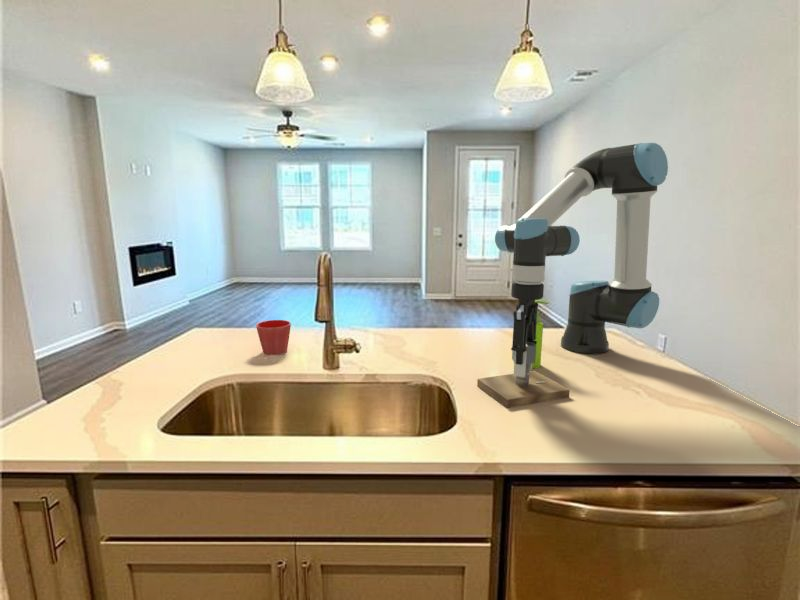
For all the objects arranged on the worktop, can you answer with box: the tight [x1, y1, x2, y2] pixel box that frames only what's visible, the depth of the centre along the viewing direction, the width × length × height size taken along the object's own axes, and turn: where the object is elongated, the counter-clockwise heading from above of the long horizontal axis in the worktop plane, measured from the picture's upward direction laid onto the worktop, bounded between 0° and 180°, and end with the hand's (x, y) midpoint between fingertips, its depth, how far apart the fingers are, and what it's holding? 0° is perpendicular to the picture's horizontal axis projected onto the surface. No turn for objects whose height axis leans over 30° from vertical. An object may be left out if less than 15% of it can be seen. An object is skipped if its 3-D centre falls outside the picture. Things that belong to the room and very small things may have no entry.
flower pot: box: [256, 319, 292, 356], centre depth 141 cm, size 11×11×10 cm
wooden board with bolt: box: [476, 364, 571, 408], centre depth 108 cm, size 18×14×8 cm
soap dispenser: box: [532, 299, 549, 369], centre depth 127 cm, size 6×7×20 cm
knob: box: [511, 341, 536, 364], centre depth 107 cm, size 6×5×5 cm
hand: (522, 371), depth 108 cm, fingers closed on knob, 5 cm apart
